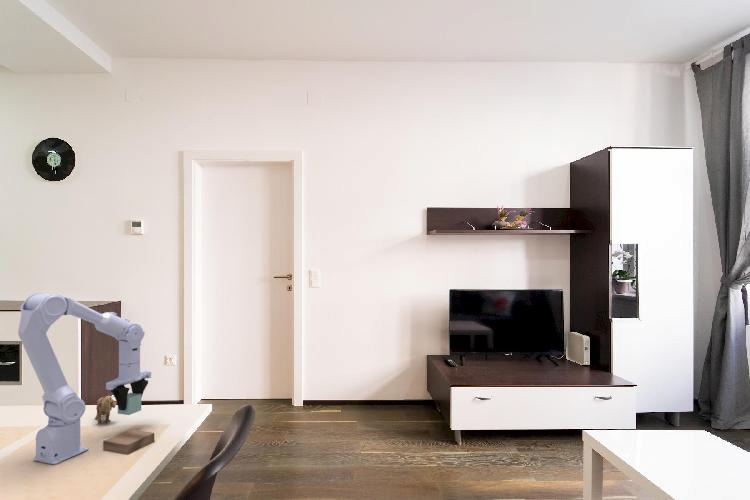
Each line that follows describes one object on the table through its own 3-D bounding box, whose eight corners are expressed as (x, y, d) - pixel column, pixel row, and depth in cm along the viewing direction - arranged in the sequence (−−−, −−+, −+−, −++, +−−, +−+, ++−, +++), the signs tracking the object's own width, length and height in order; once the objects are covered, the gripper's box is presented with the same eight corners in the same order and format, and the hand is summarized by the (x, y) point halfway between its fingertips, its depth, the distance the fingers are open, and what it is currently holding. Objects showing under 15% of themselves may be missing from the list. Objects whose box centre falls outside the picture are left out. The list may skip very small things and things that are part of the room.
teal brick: (128, 415, 135) (128, 398, 135) (117, 413, 136) (117, 396, 136) (141, 410, 139) (141, 394, 139) (130, 408, 140) (130, 392, 140)
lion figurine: (118, 423, 144) (118, 395, 144) (99, 428, 140) (99, 399, 140) (106, 412, 155) (106, 386, 155) (88, 416, 151) (88, 389, 151)
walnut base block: (127, 454, 121) (127, 445, 121) (103, 449, 124) (103, 440, 124) (154, 441, 130) (154, 432, 130) (131, 437, 133) (131, 428, 133)
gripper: (118, 369, 130) (118, 416, 129) (158, 358, 143) (158, 401, 143) (100, 367, 132) (100, 413, 132) (141, 357, 146) (141, 399, 145)
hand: (129, 407), depth 138 cm, fingers closed on teal brick, 4 cm apart
